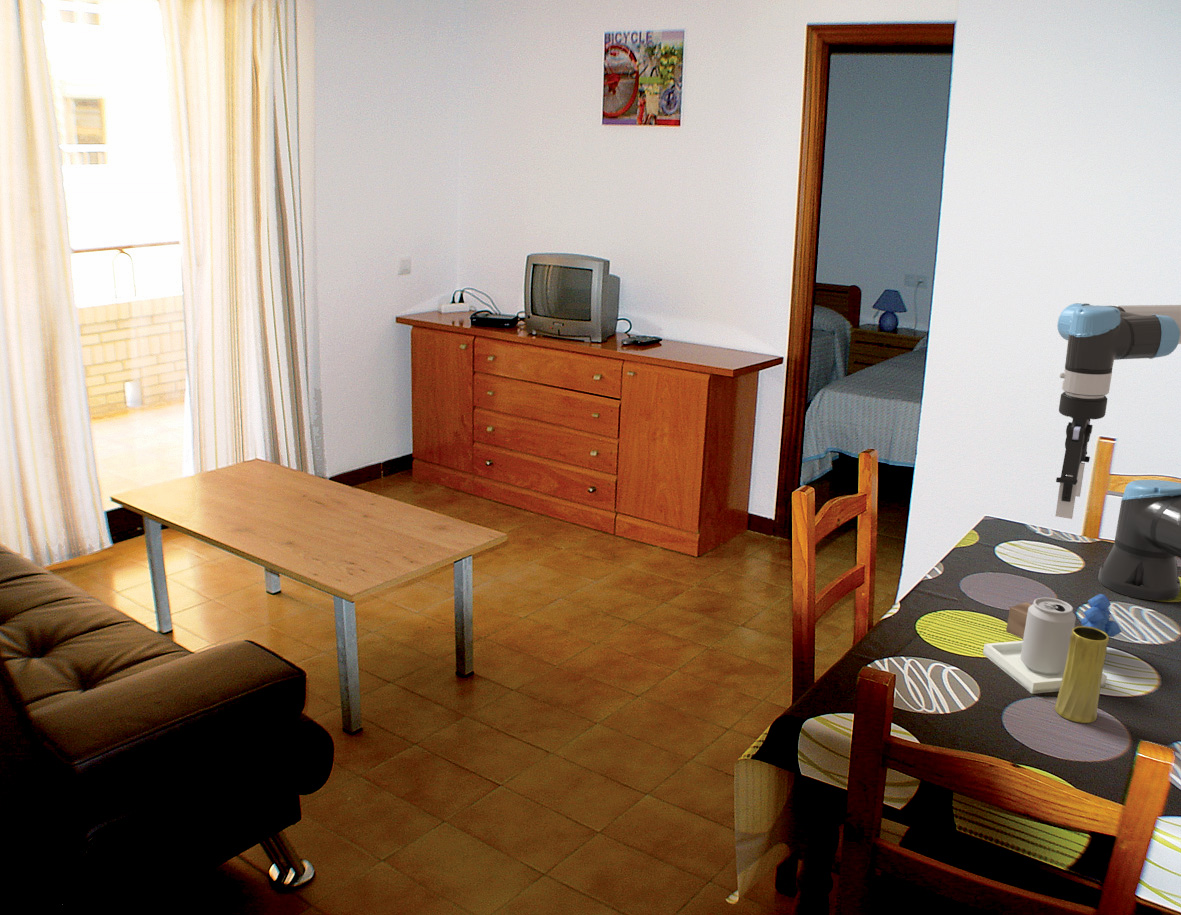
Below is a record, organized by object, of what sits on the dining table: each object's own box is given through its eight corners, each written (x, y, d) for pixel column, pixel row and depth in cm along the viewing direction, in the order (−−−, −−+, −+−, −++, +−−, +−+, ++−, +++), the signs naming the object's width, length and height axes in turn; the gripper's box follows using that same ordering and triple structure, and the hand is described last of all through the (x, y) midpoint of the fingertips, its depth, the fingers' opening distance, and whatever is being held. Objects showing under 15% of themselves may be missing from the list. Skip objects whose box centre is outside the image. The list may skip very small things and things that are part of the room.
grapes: (1109, 674, 169) (1121, 611, 166) (1067, 662, 173) (1078, 600, 170) (1121, 649, 178) (1133, 589, 175) (1081, 638, 182) (1092, 579, 179)
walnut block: (1022, 625, 187) (1026, 602, 186) (1045, 636, 183) (1050, 612, 182) (1005, 631, 184) (1009, 607, 183) (1029, 642, 180) (1033, 618, 179)
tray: (1051, 647, 178) (1053, 638, 178) (1104, 686, 165) (1106, 676, 165) (982, 653, 175) (984, 643, 175) (1031, 693, 162) (1033, 683, 162)
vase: (1047, 703, 159) (1061, 624, 155) (1082, 703, 160) (1097, 624, 156) (1067, 724, 154) (1083, 642, 149) (1104, 723, 154) (1120, 642, 150)
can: (1071, 679, 166) (1083, 615, 163) (1024, 674, 167) (1035, 610, 164) (1059, 658, 173) (1070, 597, 170) (1015, 654, 174) (1025, 592, 171)
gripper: (1069, 378, 186) (1054, 483, 192) (1052, 406, 165) (1036, 523, 171) (1113, 382, 182) (1096, 489, 188) (1102, 411, 161) (1083, 530, 168)
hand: (1068, 505), depth 180 cm, fingers open, 13 cm apart
